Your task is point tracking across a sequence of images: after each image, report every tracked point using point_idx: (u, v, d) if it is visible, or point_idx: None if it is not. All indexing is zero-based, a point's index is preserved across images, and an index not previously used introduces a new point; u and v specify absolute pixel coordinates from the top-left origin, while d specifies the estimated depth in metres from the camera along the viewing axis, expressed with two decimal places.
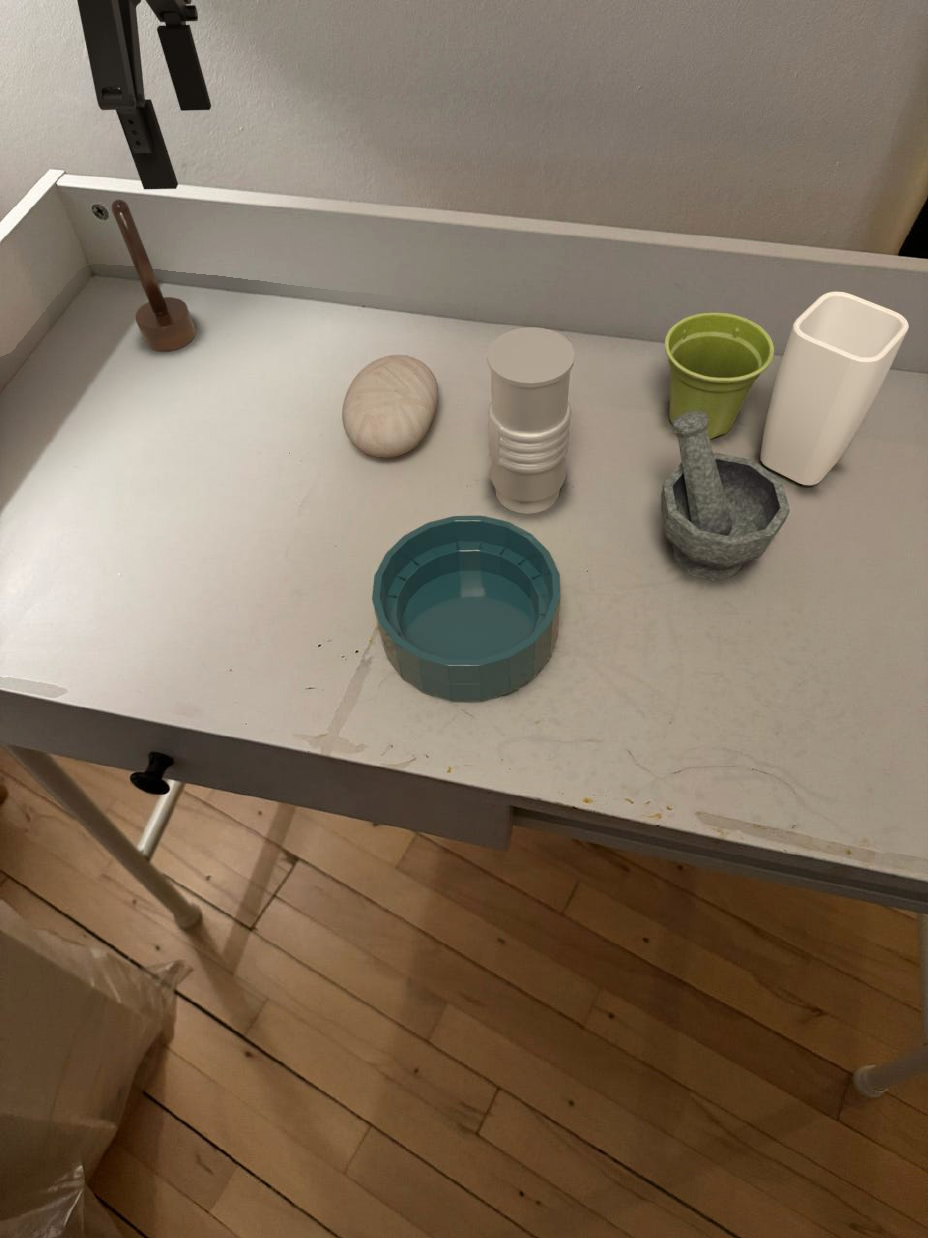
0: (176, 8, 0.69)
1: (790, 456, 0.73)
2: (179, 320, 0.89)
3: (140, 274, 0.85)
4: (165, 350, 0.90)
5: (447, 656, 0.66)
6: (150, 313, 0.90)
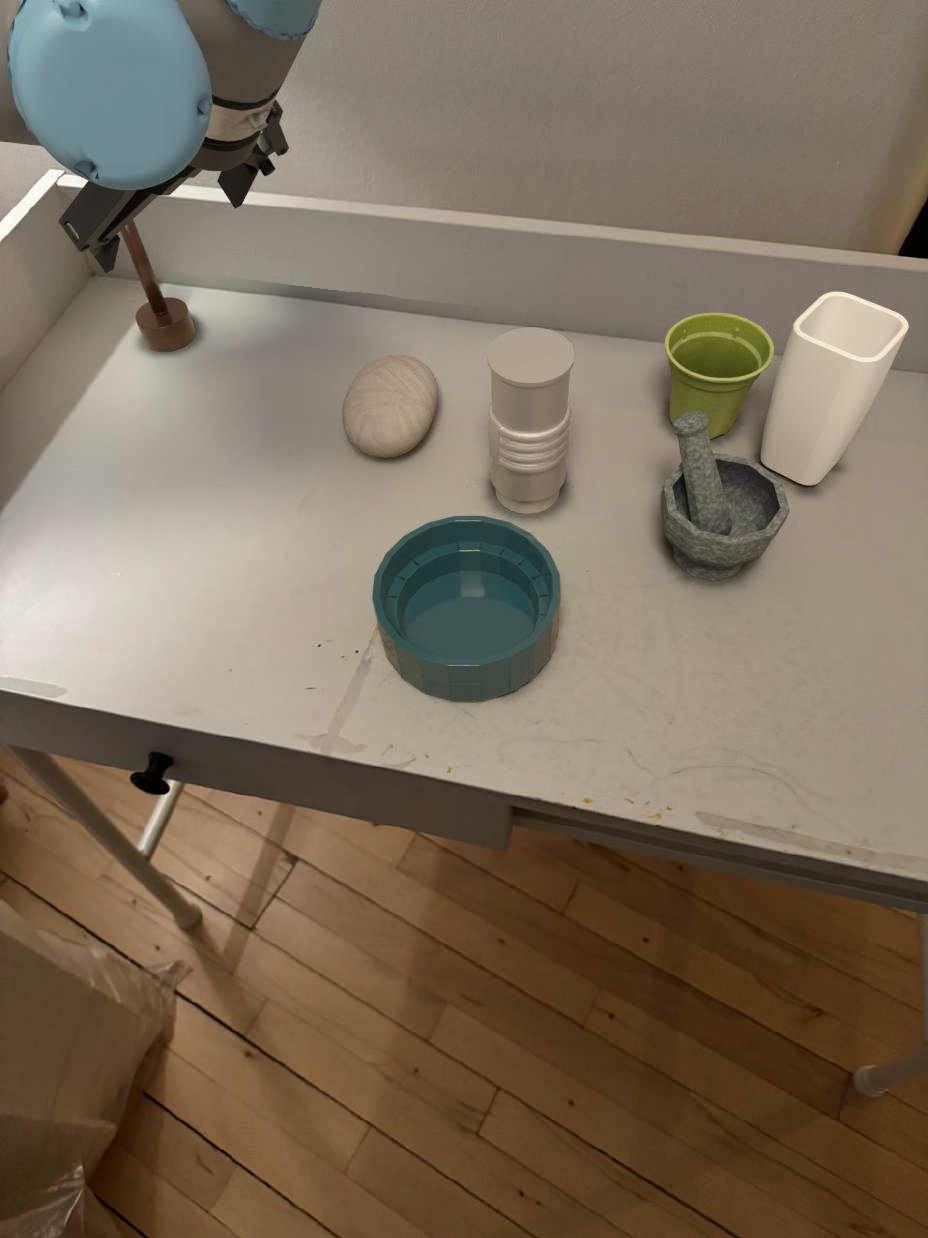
0: None
1: (790, 456, 0.73)
2: (179, 320, 0.89)
3: (140, 274, 0.85)
4: (165, 350, 0.90)
5: (447, 656, 0.66)
6: (150, 313, 0.90)
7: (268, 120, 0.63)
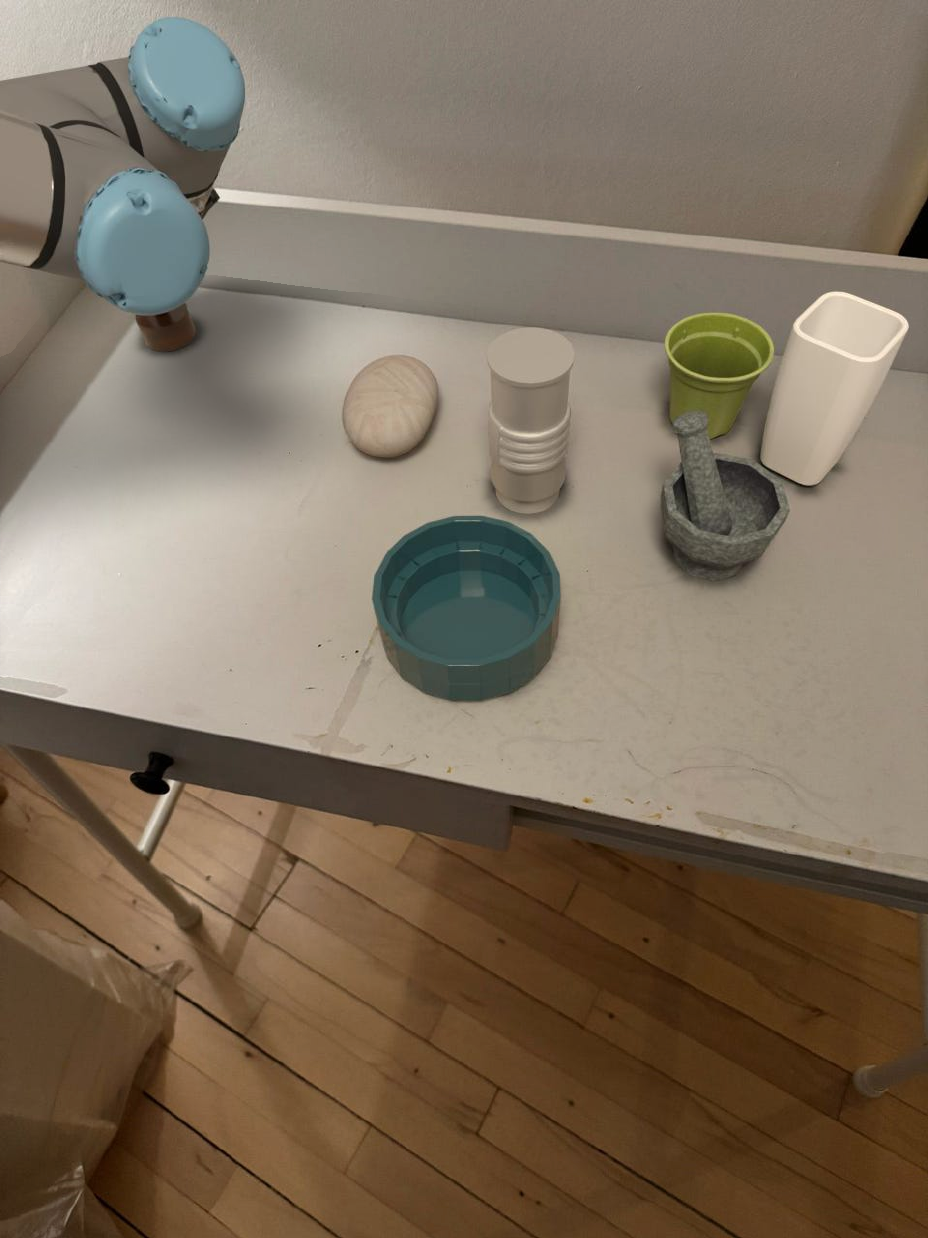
0: None
1: (790, 456, 0.73)
2: (179, 320, 0.89)
3: None
4: (165, 350, 0.90)
5: (447, 656, 0.66)
6: None
7: (207, 203, 0.77)
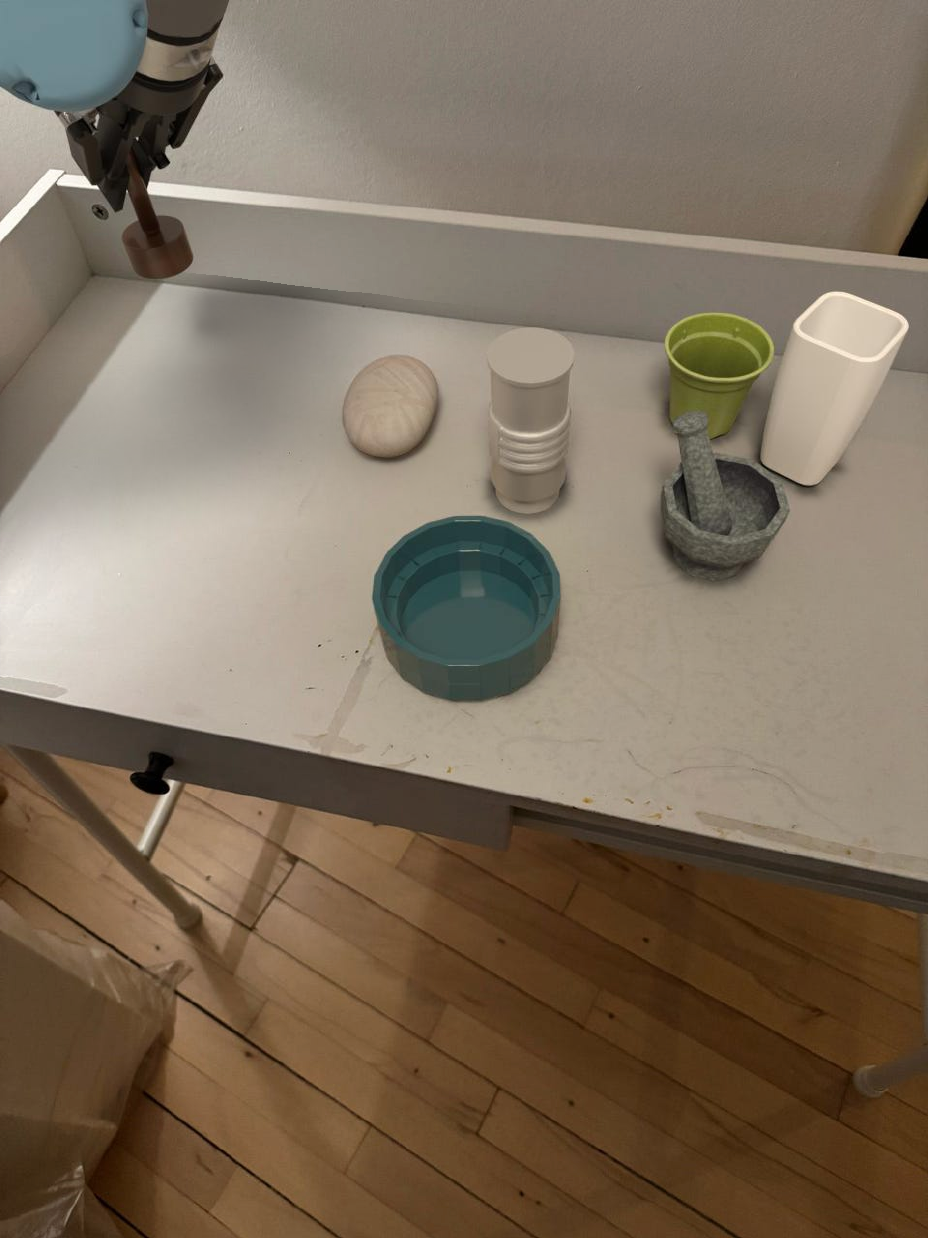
0: (151, 146, 0.68)
1: (790, 456, 0.73)
2: (174, 240, 0.74)
3: None
4: (157, 277, 0.76)
5: (447, 656, 0.66)
6: (139, 232, 0.75)
7: (208, 81, 0.63)
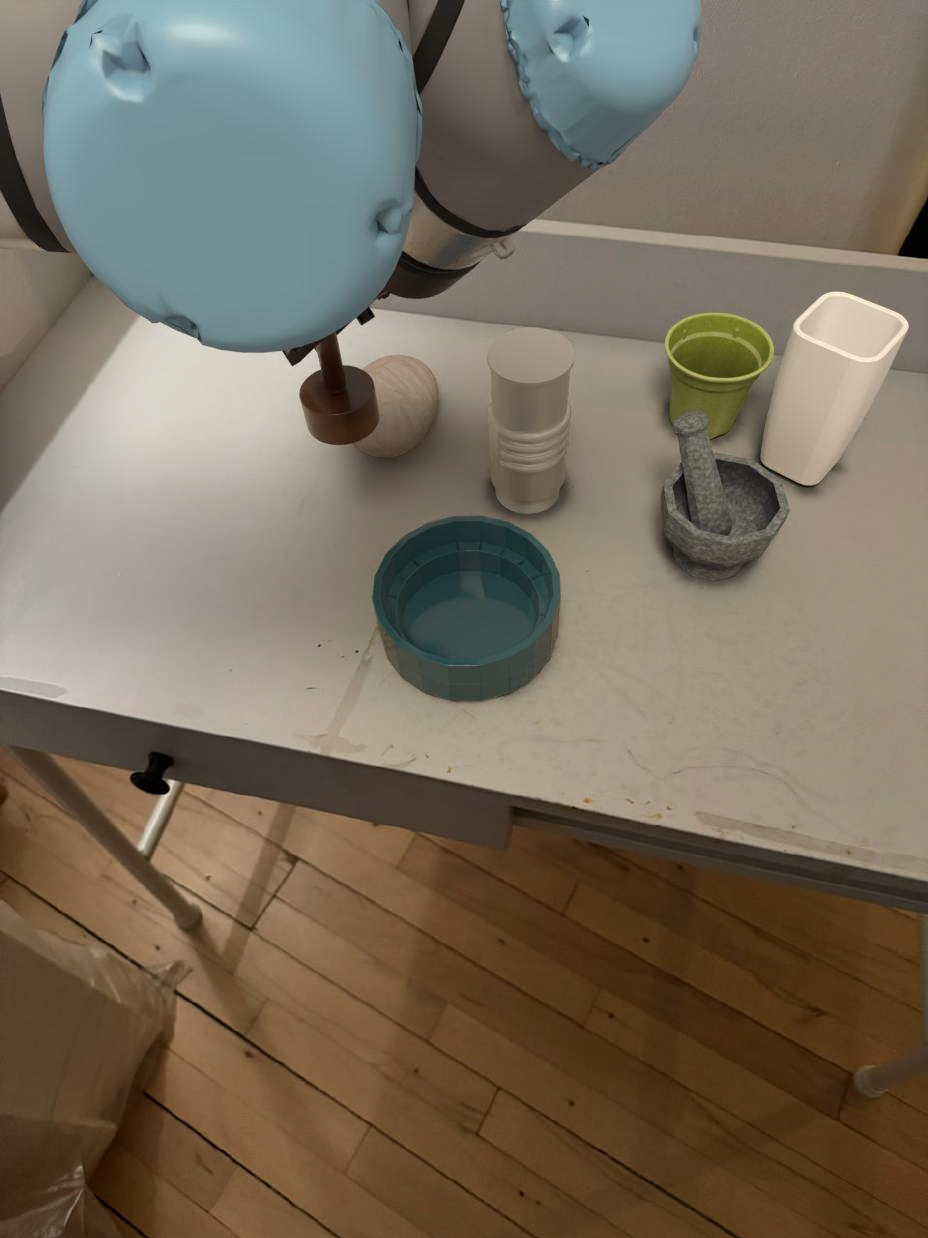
0: None
1: (790, 456, 0.73)
2: (366, 402, 0.60)
3: None
4: (341, 443, 0.62)
5: (447, 656, 0.66)
6: (320, 391, 0.61)
7: None
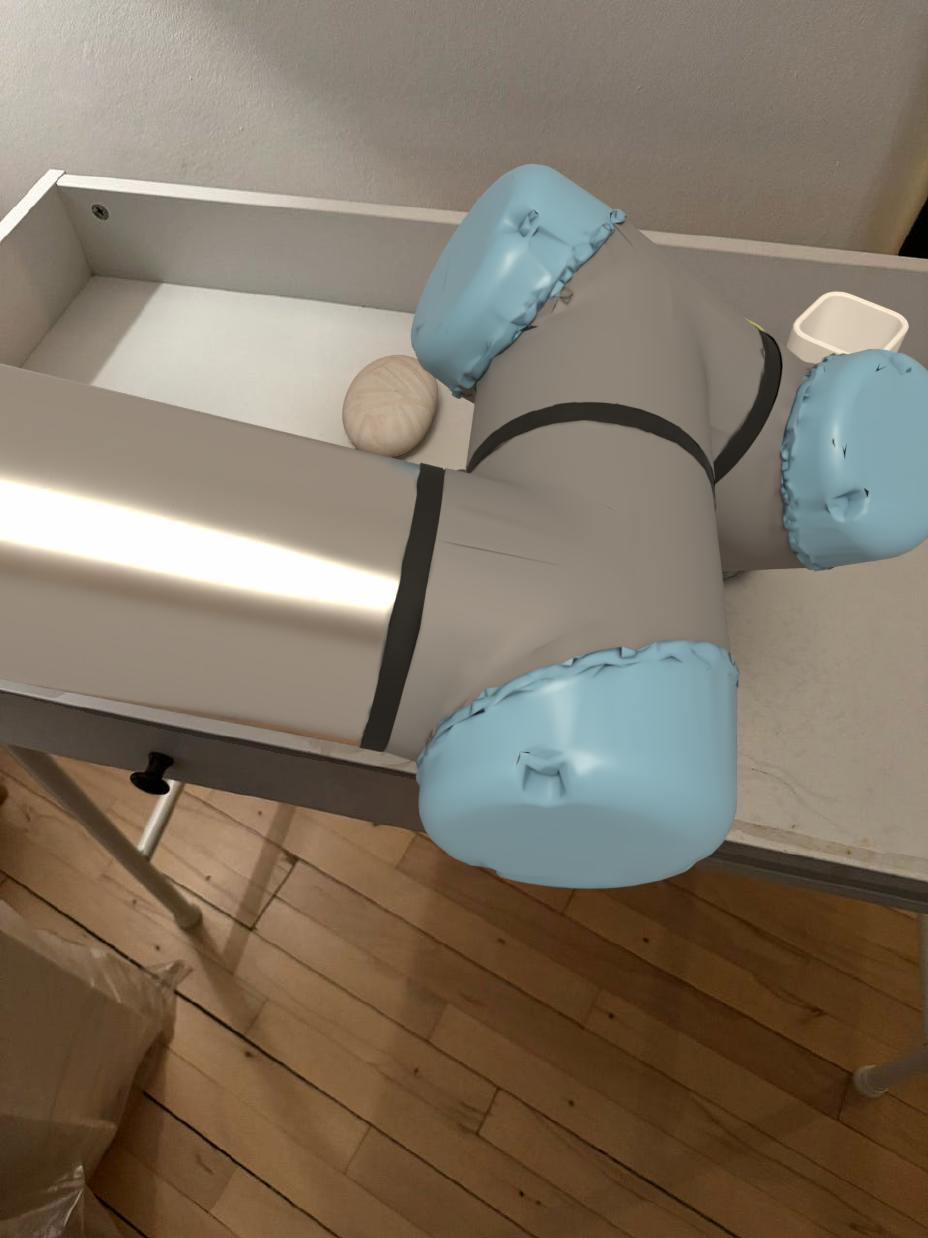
0: None
1: None
2: None
3: None
4: None
5: None
6: None
7: None
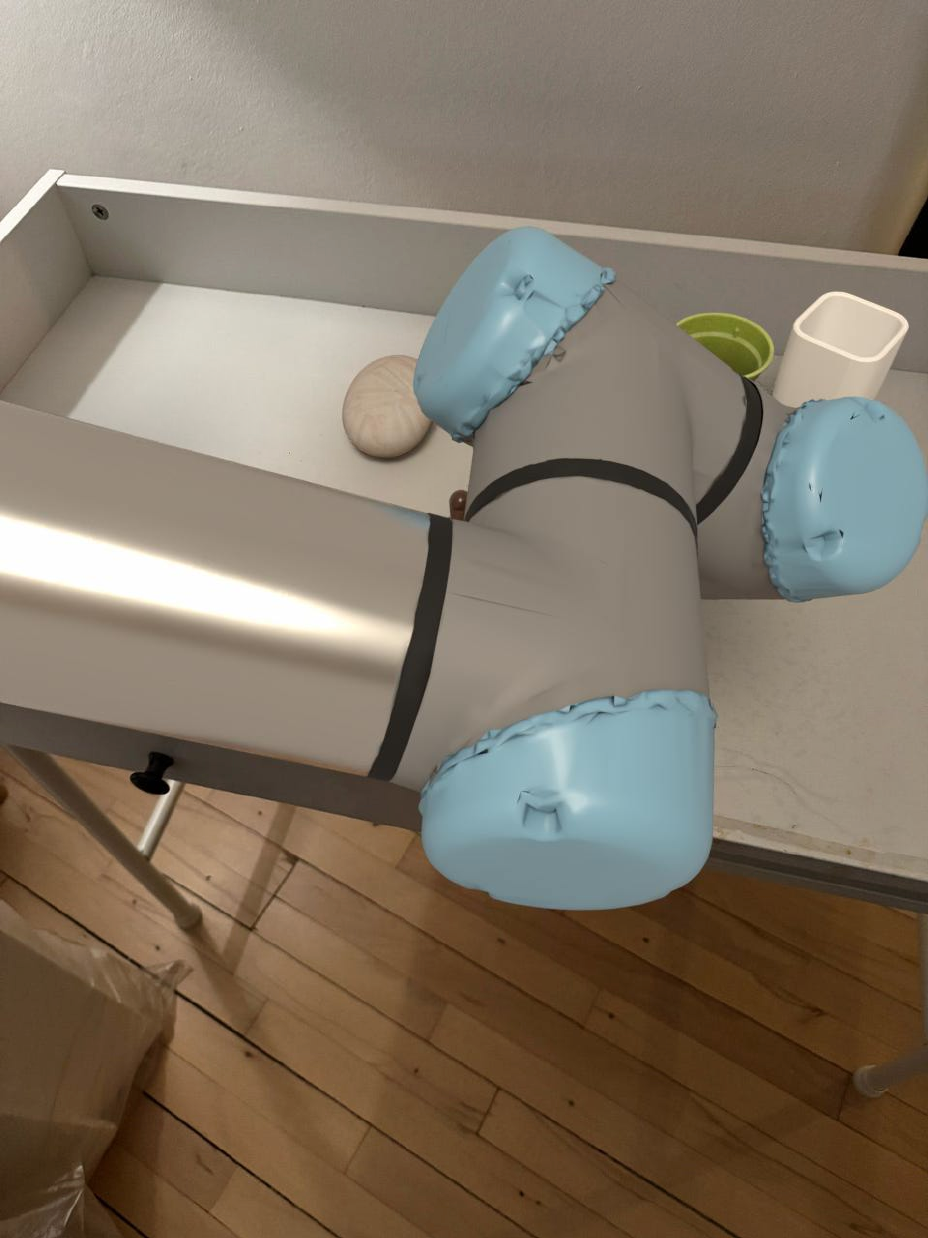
0: None
1: None
2: None
3: None
4: None
5: None
6: None
7: None
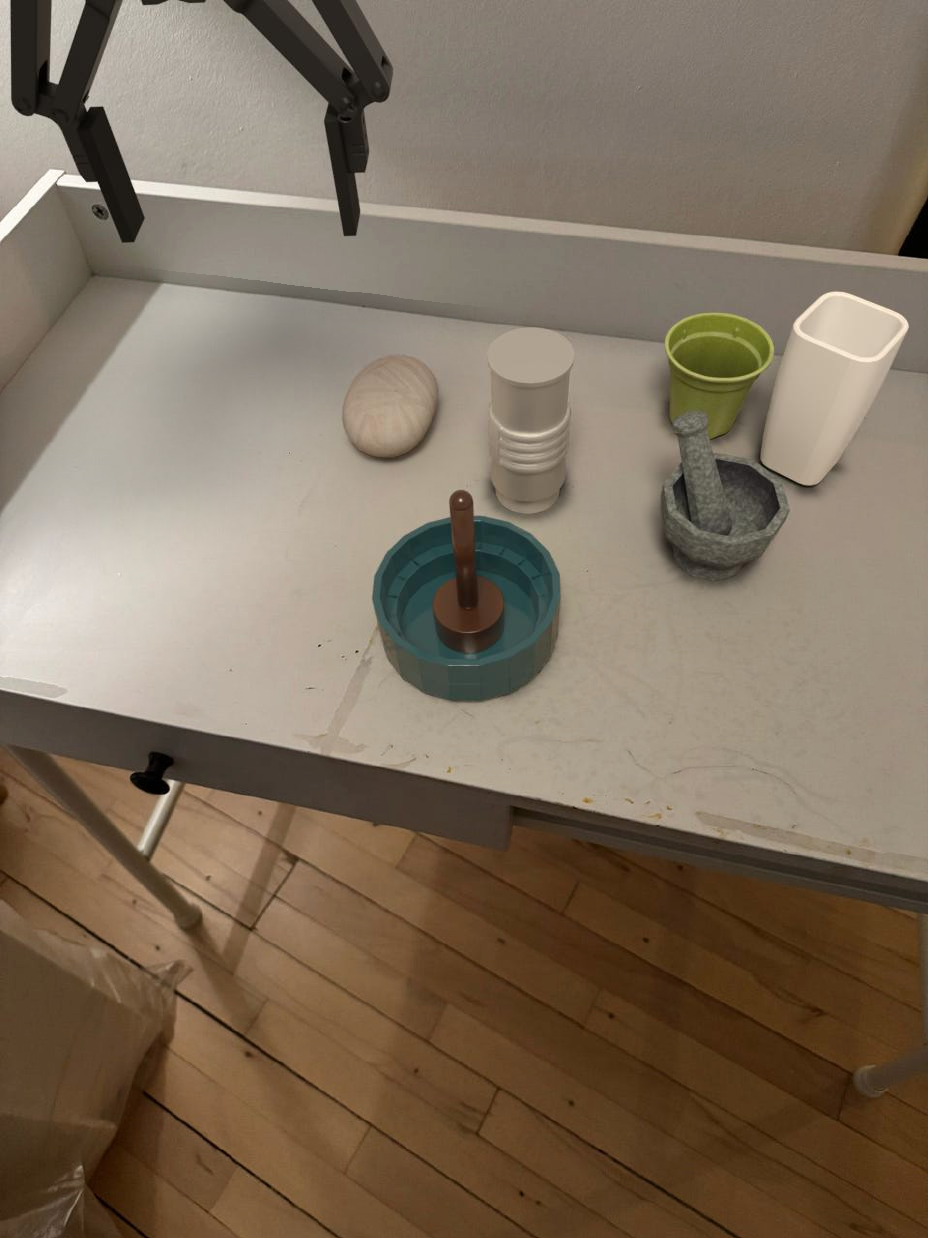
0: (315, 85, 0.43)
1: (790, 456, 0.73)
2: (498, 619, 0.64)
3: (462, 571, 0.60)
4: (470, 652, 0.65)
5: (447, 656, 0.66)
6: (453, 605, 0.65)
7: None
